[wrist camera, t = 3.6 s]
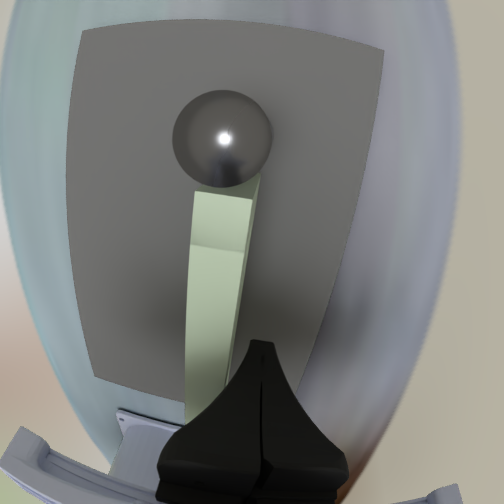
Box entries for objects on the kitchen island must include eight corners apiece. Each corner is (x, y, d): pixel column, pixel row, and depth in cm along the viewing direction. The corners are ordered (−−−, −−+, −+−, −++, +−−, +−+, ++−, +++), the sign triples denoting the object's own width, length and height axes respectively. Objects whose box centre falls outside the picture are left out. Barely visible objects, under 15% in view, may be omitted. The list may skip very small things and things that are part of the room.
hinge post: (269, 160, 12) (263, 195, 6) (223, 153, 12) (168, 181, 6) (277, 115, 12) (279, 96, 5) (230, 108, 12) (178, 86, 5)
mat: (285, 413, 19) (285, 418, 18) (97, 371, 19) (94, 376, 18) (380, 53, 10) (384, 50, 9) (87, 32, 10) (82, 30, 10)
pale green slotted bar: (225, 396, 17) (213, 458, 13) (202, 392, 17) (186, 453, 13) (261, 173, 12) (252, 199, 8) (224, 167, 12) (194, 191, 8)
